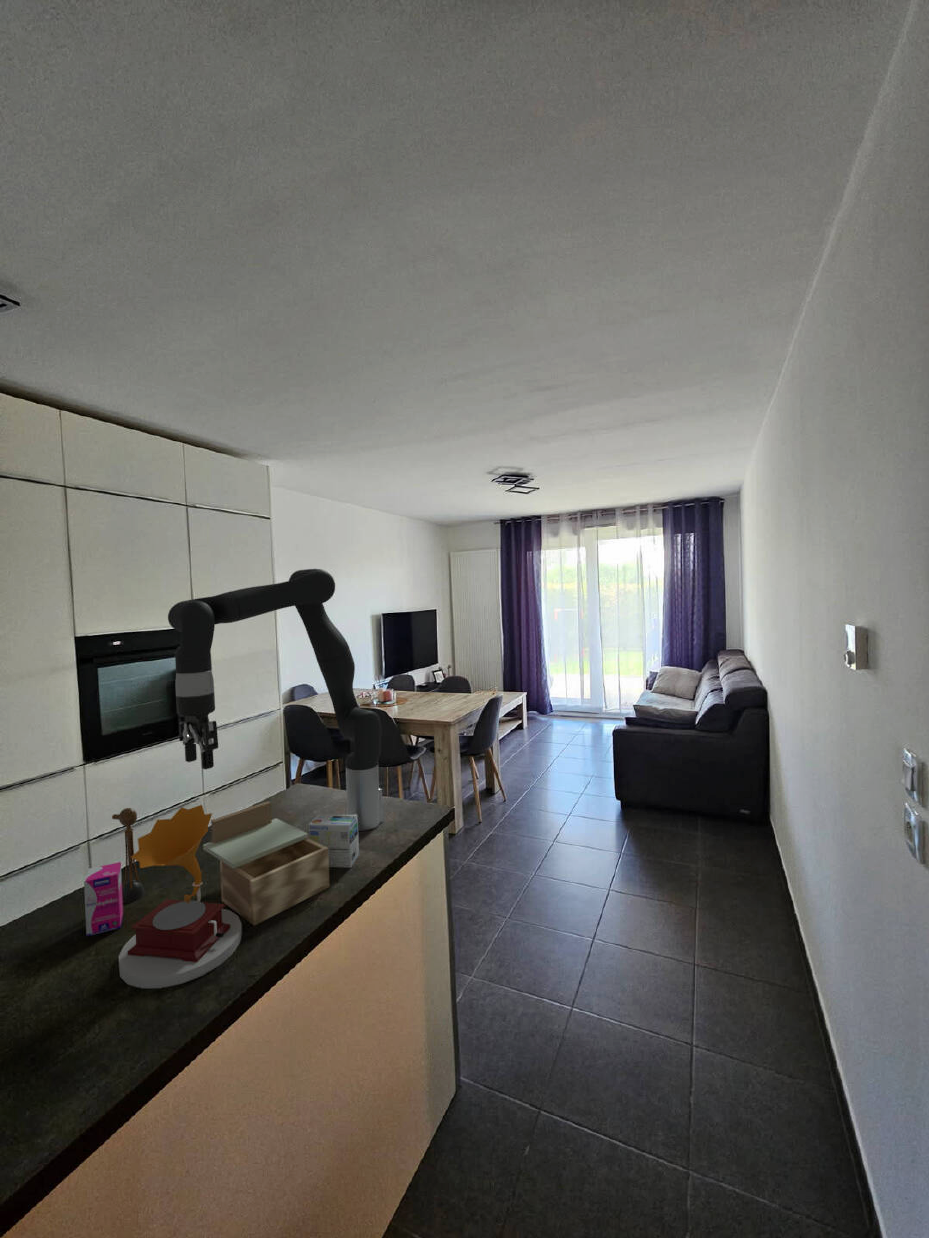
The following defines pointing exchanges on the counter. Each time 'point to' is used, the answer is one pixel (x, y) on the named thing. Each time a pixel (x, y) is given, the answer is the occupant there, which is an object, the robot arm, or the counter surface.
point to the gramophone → (178, 913)
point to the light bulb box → (337, 837)
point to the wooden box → (275, 880)
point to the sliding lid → (250, 835)
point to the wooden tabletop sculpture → (133, 887)
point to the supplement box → (103, 899)
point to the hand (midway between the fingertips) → (199, 764)
